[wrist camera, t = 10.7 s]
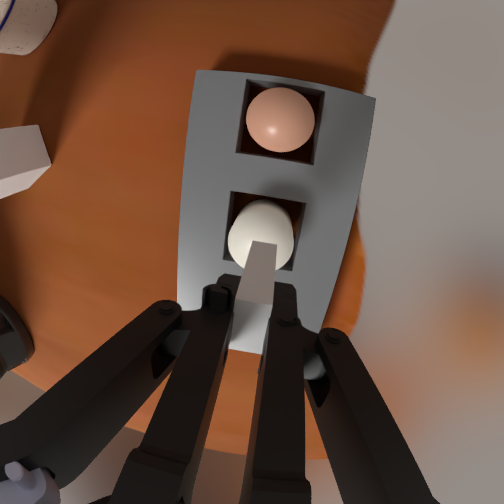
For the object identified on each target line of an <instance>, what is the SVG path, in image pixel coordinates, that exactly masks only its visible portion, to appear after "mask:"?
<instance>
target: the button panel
mask: <svg viewBox="0 0 504 504" xmlns="http://www.w3.org/2000/svg"><path fill="white" fill-rule="evenodd" d="M250 86H257V87H265V88H279V87H281V88H288V89H291V90H294V91H296V92H298V93H303V94H309V95H314V96H319V97H320V101H319V108H318V115H317V121H316V127H315V133H314V139H313V145H312V151H311V157H310V163H309V162H304V161H299V160H293V159H288V158H282V157H276V156H270V155H263V154H256V153H249V152H242V151H241V145H242V138H243V131H244V124H245V117H246V111H247V104H248V97H249V91H250ZM375 101H376V99H375V98H373V97H369V96H366V95H363V94H359V93H355V92H352V91H348V90H344V89H340V88H336V87H332V86H327V85H323V84H318V83H313V82H308V81H303V80H297V79H291V78H285V77H278V76H271V75H263V74H254V73H244V72H231V71H213V70H196V75H195V81H194V87H193V94H192V101H191V108H190V115H189V123H188V131H187V139H186V148H185V158H184V168H183V180H182V192H181V206H180V223H179V244H178V278H177V303H178V304H180V306H181V307H182V310H197V309H200V308H201V306H202V291H203V288H204V287H205V286H207V285H209V284H216V282H217V280H218V278H219V277H220V276H221V275H223V274H224V273H226V274H232V275H237V276H242V274H243V271H244V268H242V267H241V266H240V265H238V264H237V263H236V261H235V260H234V259H233V257H232V256H231V254H230V251H229V247H228V236H229V232H230V230H231V222H232V214H233V206H234V198H235V191H237V192H243V193H250V194H256V195H263V196H269V197H275V198H281V199H287V200H292V201H298V202H302V206H301V211H300V216H299V221H298V226H297V231H296V236H295V241H294V247H293V252H292V256H291V257H290V258H289V260H288V261H287V262H286V264H284V265H283V266H282V267H281V268H279V269H277V270H275V281H276V282H282V283H288V284H292V285H293V286H294V287H295V289H296V292H297V310H298V318H299V319H300V320H301V323H302V326H303V327H305V328H306V329H308V330H310V331H313V332H315V333H319V331H320V329H321V326H322V323H323V320H324V317H325V314H326V311H327V308H328V305H329V302H330V299H331V296H332V292H333V289H334V286H335V283H336V279H337V276H338V273H339V269H340V266H341V262H342V259H343V255H344V252H345V248H346V244H347V241H348V237H349V233H350V229H351V225H352V221H353V217H354V213H355V209H356V204H357V200H358V196H359V191H360V187H361V182H362V177H363V172H364V167H365V162H366V157H367V151H368V146H369V140H370V135H371V128H372V122H373V115H374V108H375Z"/></svg>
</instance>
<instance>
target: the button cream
mask: <svg viewBox="0 0 504 504" xmlns="http://www.w3.org/2000/svg"><path fill="white" fill-rule="evenodd" d="M252 241H259V242H265V243H271V244H277V255H276V269H275V270H277V269H279V268H281V267H282V266H283V265H284V264H286V262H287V261H288V260H289V258H290V257H291V254H292V252H293V247H294V238H293V230H292V223H291V218H290V216H289V214H288V212H287V211H286V210H285V208H283V207H282V206H281V205H280V204H278V203H276V202H274V201H271V200H265V199H263V200H256V201H253V202H251V203H249V204H247V205H246V206H245V207H244V208H243V209H242V210H241V211H240V213H239V215H238V216H237V218H236V220H235V222H234V224H233V226H232V228H231V230H230V232H229V236H228V247H229V251H230V254H231V256H232V257H233V259H234V260H235V261H236V263H237V264H238V265H240V266H241V267H242V268H244V267H245V264H246V261H247V257H248V254H249V251H250V247H251V244H252Z"/></svg>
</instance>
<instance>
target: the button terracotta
mask: <svg viewBox="0 0 504 504" xmlns="http://www.w3.org/2000/svg"><path fill="white" fill-rule="evenodd" d="M246 123H247V128H248V131H249V133H250V135H251V136H252V138H253V139H254V140H255V141H256V142H257V143H258V144H259V145H260V146H262V147H264V148H266V149H268V150H271V151H275V152H288V151H292V150H294V149H297V148H299V147H300V146H302V145H303V144H304V143H305V142H306V141H307V140H308V139H309V137H310V136H311V134H312V132H313V129H314V123H315V119H314V112H313V109H312V107H311V105H310V104H309V102H308V101H307V100H306V98H305V97H303V96H302V95H301V94H300V93H298V92H296V91H294V90H291V89H288V88H281V87H279V88H271V89H268V90H265V91H263V92H262V93H260V94H259V95H257V96H256V97H255V98H254V99H253V101H252V102H251V104H250V105H249V108H248V110H247V115H246Z"/></svg>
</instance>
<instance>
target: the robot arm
mask: <svg viewBox="0 0 504 504" xmlns="http://www.w3.org/2000/svg"><path fill="white" fill-rule="evenodd" d="M276 255H277V244H271V243H265V242H259V241H252V244H251V247H250V251H249V254H248V257H247V261H246V264H245V267H244V271H243V274H242V276H237V275H232V274H226V273H224V274H223V275H221V276H220V277H219V278H218V280H217V282H216V284H209V285H207V286H205V287H204V288H203V291H202V306H201V308H200V309H197V310H182V307H181V306H180V304H178V303H177V302H175V301H171V300H161V301H157V302H155V303H153V304H152V305H151V306H150V307H148V308H147V309H146V310H145V311H143V312H142V313H141V314H140V315H138V316H137V317H136V318H135V319H134V320H132V321H131V322H130V323H129V324H127V325H126V326H125V327H124V328H122V329H121V330H120V331H119V332H117V333H116V334H115V335H114V336H113V337H111V338H110V339H109V340H108V341H106V342H105V343H104V344H103V345H102V346H100V347H99V348H98V349H97V350H96V351H94V352H93V353H92V354H91V355H89V356H88V357H87V358H86V359H85V360H83V361H82V362H81V363H80V364H79V365H77V366H76V367H75V368H74V369H73V370H71V371H70V372H69V373H68V374H67V375H66V376H64V377H63V378H62V379H61V380H60V381H58V382H57V383H56V384H55V385H54V386H53V387H51V388H50V389H49V390H48V391H47V392H46V393H45V394H43V395H42V396H41V397H40V398H39V399H37V400H36V401H35V402H34V403H33V404H32V405H30V406H29V407H28V408H27V409H26V410H25V411H24V412H22V413H21V414H20V415H19V416H18V417H17V418H16V419H14V420H12V421H9V422H7V423H4V424H1V425H0V504H60V501H61V499H60V492H59V489H61V488H63V487H65V486H67V485H68V484H69V483H71V482H72V481H74V480H75V479H76V478H77V477H78V476H79V475H80V474H81V473H82V472H83V471H84V470H85V469H86V468H87V467H88V465H89V464H90V463H91V462H92V461H93V460H94V459H95V457H97V455H98V454H99V453H100V452H101V451H102V450H103V448H105V446H106V445H107V444H108V443H109V442H110V441H111V439H112V438H113V437H114V436H115V435H116V434H117V433H118V432H119V431H120V430H121V428H122V427H123V426H124V425H125V424H126V423H127V422H128V421H129V419H130V418H131V417H132V416H133V415H134V414H135V413H136V411H137V410H138V409H139V408H140V407H141V406H142V405H143V403H144V402H145V401H146V400H147V399H148V398H149V396H150V395H151V394H152V393H153V392H154V391H155V390H156V388H157V387H158V386H159V385H160V384H161V383H162V381H163V380H164V379H165V378H166V377H167V376H168V374H169V373H170V372H171V371H172V372H171V375H170V377H169V379H168V382H167V384H166V386H165V388H164V391H163V393H162V395H161V398H160V400H159V402H158V405H157V407H156V409H155V412H154V414H153V416H152V419H151V421H150V423H149V426H148V428H147V430H146V433H145V435H144V438H143V440H142V442H141V444H140V446H139V447H138V448H135V449H133V450H132V451H131V452H130V454H129V455H128V457H127V459H126V462H125V464H124V466H123V469H122V471H121V473H120V476H119V478H118V481H117V483H116V485H115V488H114V490H113V493H112V495H109V496H106V497H103V498H101V499H98V500H96V501H94V502H91V503H89V504H191V500H192V494H193V488H194V483H195V480H196V476H197V472H198V468H199V464H200V461H201V457H202V453H203V449H204V445H205V441H206V437H207V433H208V430H209V426H210V422H211V418H212V414H213V410H214V406H215V402H216V399H217V395H218V391H219V387H220V383H221V379H222V375H223V371H224V367H225V363H226V360H227V355H228V348H229V349H234V350H239V351H245V352H251V353H257V354H262V356H261V360H260V364H259V369H258V373H257V374H258V381H257V388H256V396H255V403H254V410H253V417H252V424H251V431H250V438H249V444H248V451H247V458H246V464H245V470H244V477H243V483H242V490H241V495H240V500H239V504H311V485H310V482H309V481H308V480H307V479H306V477H305V394H304V388H305V391H306V394H307V397H308V400H309V402H310V405H311V408H312V411H313V414H314V417H315V420H316V423H317V426H318V429H319V432H320V435H321V438H322V441H323V444H324V447H325V450H326V453H327V456H328V459H329V461H330V464H331V468H332V471H333V474H334V476H335V479H336V482H337V485H338V488H339V491H340V494H341V497H342V500H343V503H344V504H440V503H439V502H438V501H437V500H436V499H434V497H433V496H432V494H431V492H430V490H429V488H428V485H427V483H426V481H425V479H424V477H423V475H422V473H421V471H420V469H419V467H418V465H417V463H416V461H415V459H414V457H413V455H412V453H411V451H410V449H409V447H408V445H407V443H406V441H405V439H404V438H403V436H402V433H401V432H400V430H399V428H398V426H397V424H396V422H395V420H394V418H393V417H392V415H391V413H390V411H389V409H388V407H387V405H386V403H385V402H384V400H383V398H382V396H381V394H380V392H379V391H378V389H377V387H376V385H375V384H374V382H373V380H372V378H371V376H370V375H369V373H368V371H367V369H366V368H365V366H364V364H363V362H362V360H361V359H360V357H359V355H358V353H357V352H356V350H355V348H354V347H353V345H352V343H351V341H350V340H349V338H348V336H347V335H346V334H345V333H344V332H342V331H341V330H338V329H335V328H323V329H322V330H320V331H319V333H315V332H313V331H310V330H308V329H306V328H305V327H303V326H302V323H301V320H300V319H299V318H298V310H297V292H296V289H295V287H294V286H293V285H292V284H288V283H282V282H276V281H275V269H276ZM33 354H34V347H33V343H32V340H31V337H30V335H29V333H28V331H27V329H26V327H25V326H24V324H23V322H22V321H21V319H20V318H19V316H18V315H17V313H16V312H15V311H14V309H13V308H12V307H11V306H10V305H9V304H8V303H7V302H6V301H5V300H4V299H3V298H2V297H1V296H0V379H1V378H2V376H3V375H4V374H5V373H6V372H7V371H9V370H11V369H13V368H15V367H17V366H19V365H21V364H23V363H26V362H27V361H28V360H29V359H30V358H31V357H32V355H33Z"/></svg>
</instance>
